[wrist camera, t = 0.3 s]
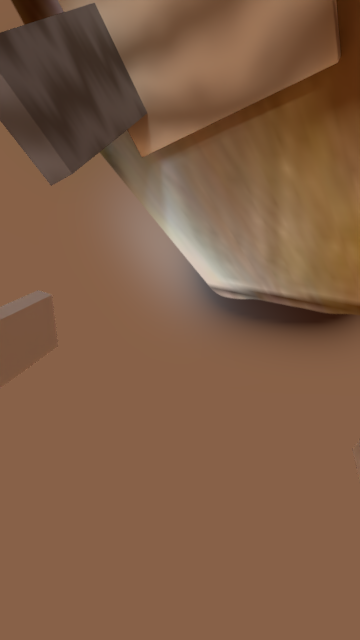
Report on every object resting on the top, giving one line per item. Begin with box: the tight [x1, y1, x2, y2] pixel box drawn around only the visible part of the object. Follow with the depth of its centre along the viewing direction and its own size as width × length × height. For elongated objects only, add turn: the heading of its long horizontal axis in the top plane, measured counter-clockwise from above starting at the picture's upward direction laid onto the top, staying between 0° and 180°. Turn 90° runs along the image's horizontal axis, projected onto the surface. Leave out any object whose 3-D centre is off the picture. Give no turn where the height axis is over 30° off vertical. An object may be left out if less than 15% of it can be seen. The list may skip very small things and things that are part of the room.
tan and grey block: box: [0, 0, 341, 185], centre depth 22 cm, size 18×24×17 cm
